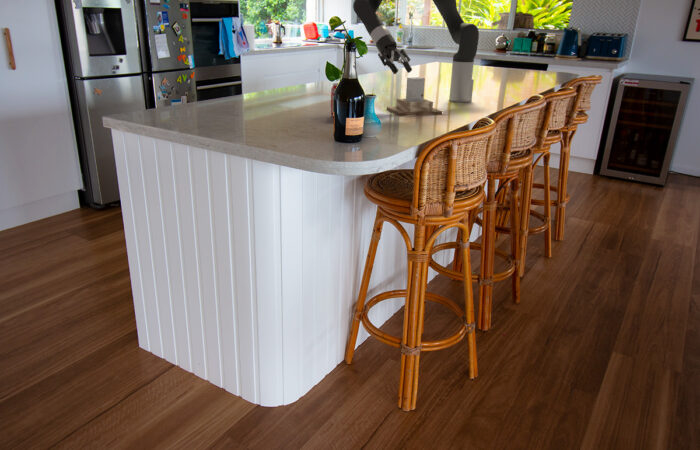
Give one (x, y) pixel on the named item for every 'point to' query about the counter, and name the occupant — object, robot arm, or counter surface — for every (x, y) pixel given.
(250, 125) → the counter surface
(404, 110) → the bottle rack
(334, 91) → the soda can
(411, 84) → the skincare box
